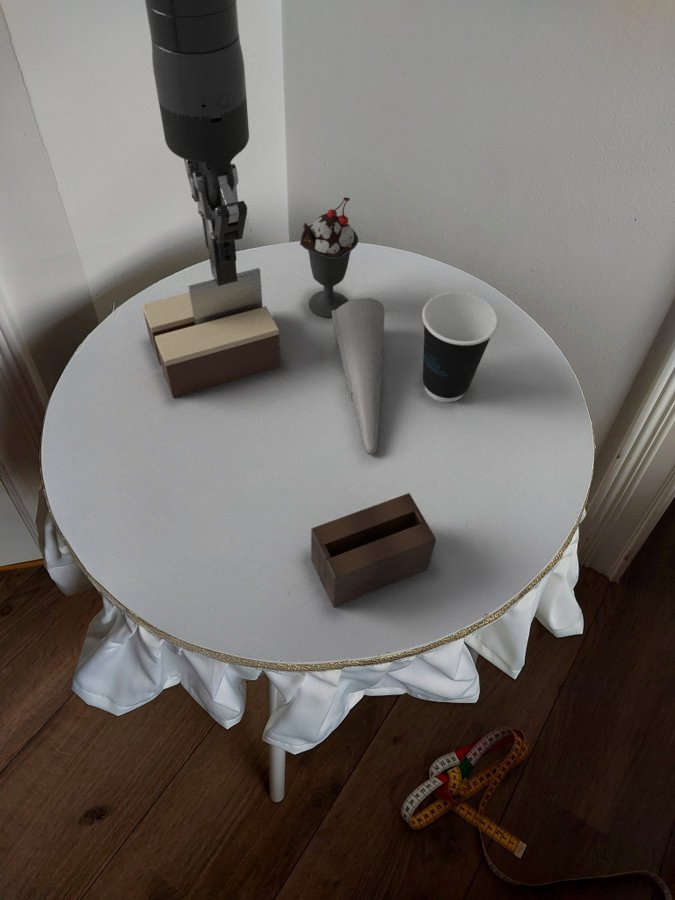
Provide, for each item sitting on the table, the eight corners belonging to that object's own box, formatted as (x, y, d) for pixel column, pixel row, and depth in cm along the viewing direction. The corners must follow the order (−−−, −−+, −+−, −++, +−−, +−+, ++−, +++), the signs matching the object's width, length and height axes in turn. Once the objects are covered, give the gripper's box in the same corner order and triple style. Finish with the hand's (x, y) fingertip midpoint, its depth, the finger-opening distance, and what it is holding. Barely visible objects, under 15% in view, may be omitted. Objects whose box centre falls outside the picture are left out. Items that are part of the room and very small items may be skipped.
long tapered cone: (423, 429, 75) (384, 293, 85) (363, 441, 75) (330, 303, 84) (422, 456, 80) (384, 324, 90) (365, 468, 80) (334, 334, 89)
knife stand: (333, 607, 67) (335, 578, 62) (311, 559, 70) (311, 528, 65) (428, 569, 70) (436, 538, 65) (402, 525, 73) (409, 492, 68)
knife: (202, 359, 84) (181, 229, 70) (197, 347, 86) (174, 216, 71) (267, 341, 87) (259, 211, 72) (260, 329, 88) (251, 199, 73)
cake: (173, 398, 82) (164, 361, 77) (150, 342, 87) (141, 304, 82) (280, 366, 85) (278, 329, 81) (252, 314, 91) (249, 276, 86)
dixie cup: (483, 370, 86) (503, 299, 77) (472, 419, 81) (492, 350, 73) (418, 355, 87) (430, 284, 78) (404, 403, 82) (415, 333, 74)
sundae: (364, 299, 93) (372, 196, 81) (336, 329, 89) (339, 227, 77) (321, 280, 95) (322, 177, 83) (291, 309, 91) (289, 205, 79)
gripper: (137, 60, 65) (167, 225, 78) (182, 139, 57) (207, 306, 71) (218, 47, 67) (233, 210, 80) (271, 122, 59) (278, 287, 73)
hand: (221, 254), depth 76 cm, fingers closed on knife, 2 cm apart
